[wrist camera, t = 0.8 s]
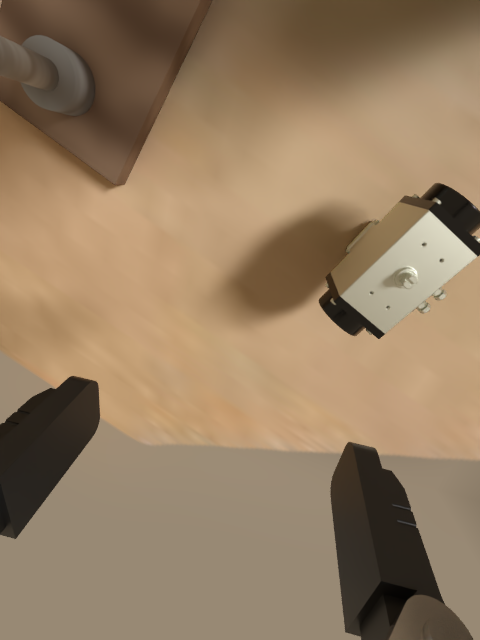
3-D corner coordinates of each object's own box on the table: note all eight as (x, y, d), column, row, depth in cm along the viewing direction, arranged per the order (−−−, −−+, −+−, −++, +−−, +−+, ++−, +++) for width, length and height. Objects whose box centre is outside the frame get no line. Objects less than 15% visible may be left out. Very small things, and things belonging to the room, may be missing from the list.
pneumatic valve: (311, 273, 34) (321, 321, 23) (401, 178, 29) (466, 182, 18) (349, 305, 35) (375, 365, 24) (442, 218, 30) (528, 244, 19)
